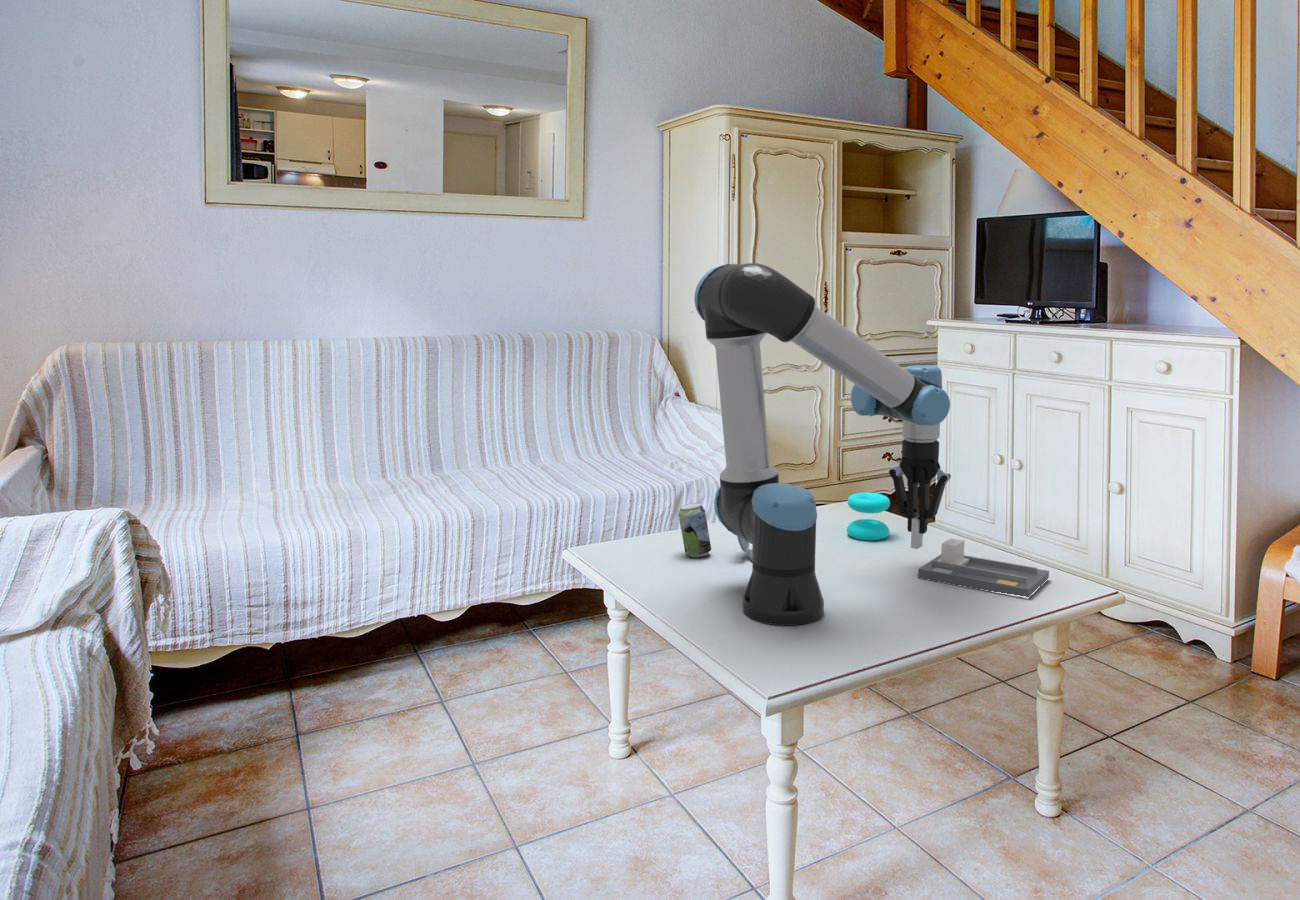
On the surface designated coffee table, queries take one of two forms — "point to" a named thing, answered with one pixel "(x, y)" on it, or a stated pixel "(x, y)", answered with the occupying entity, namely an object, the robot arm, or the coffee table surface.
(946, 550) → the switch tab
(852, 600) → the coffee table surface
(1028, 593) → the switch panel
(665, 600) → the coffee table surface
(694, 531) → the beverage can
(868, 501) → the donuts
